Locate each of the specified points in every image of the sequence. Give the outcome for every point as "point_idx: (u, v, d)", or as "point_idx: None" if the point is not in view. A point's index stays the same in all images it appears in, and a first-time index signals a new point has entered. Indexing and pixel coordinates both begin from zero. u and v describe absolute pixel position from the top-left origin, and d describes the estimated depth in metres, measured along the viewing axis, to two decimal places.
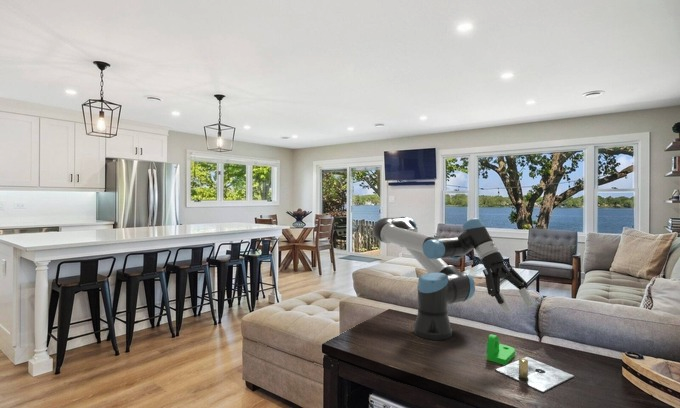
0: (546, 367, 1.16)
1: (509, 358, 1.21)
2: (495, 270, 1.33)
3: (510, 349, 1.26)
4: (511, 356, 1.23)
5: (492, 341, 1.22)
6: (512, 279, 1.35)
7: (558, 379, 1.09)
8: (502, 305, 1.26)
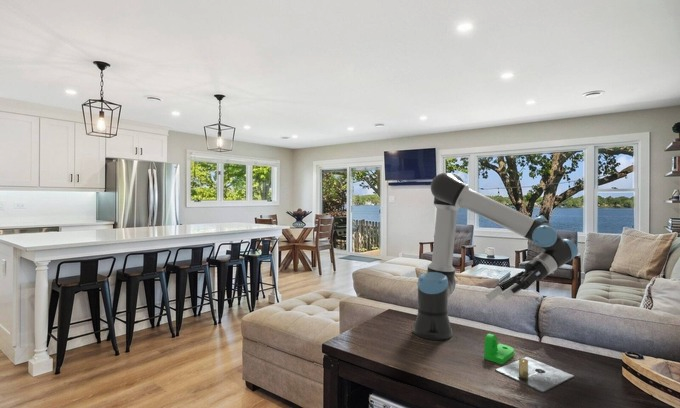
0: (546, 367, 1.16)
1: (507, 358, 1.22)
2: None
3: (509, 349, 1.26)
4: (509, 356, 1.23)
5: (489, 340, 1.22)
6: (513, 284, 1.37)
7: (558, 379, 1.09)
8: (509, 290, 1.25)
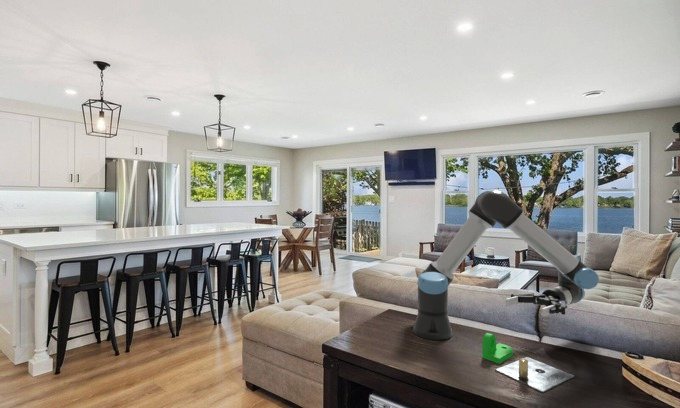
0: (546, 367, 1.16)
1: (505, 357, 1.22)
2: None
3: (508, 349, 1.27)
4: (507, 355, 1.23)
5: (487, 339, 1.23)
6: (529, 301, 1.39)
7: (558, 379, 1.09)
8: (548, 309, 1.26)
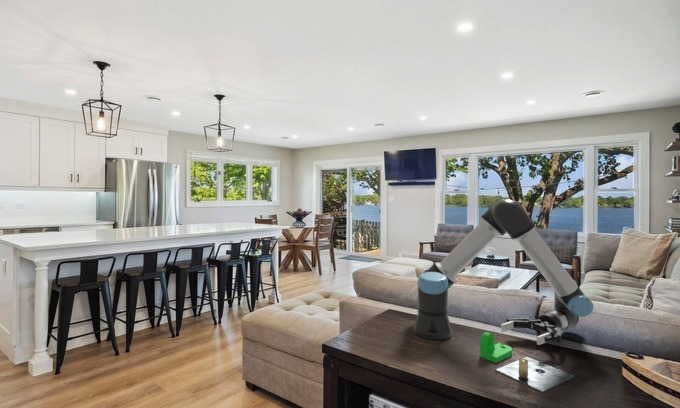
0: (546, 367, 1.16)
1: (502, 356, 1.23)
2: None
3: (507, 348, 1.27)
4: (506, 355, 1.24)
5: (485, 338, 1.24)
6: (525, 326, 1.38)
7: (558, 379, 1.09)
8: (543, 338, 1.25)
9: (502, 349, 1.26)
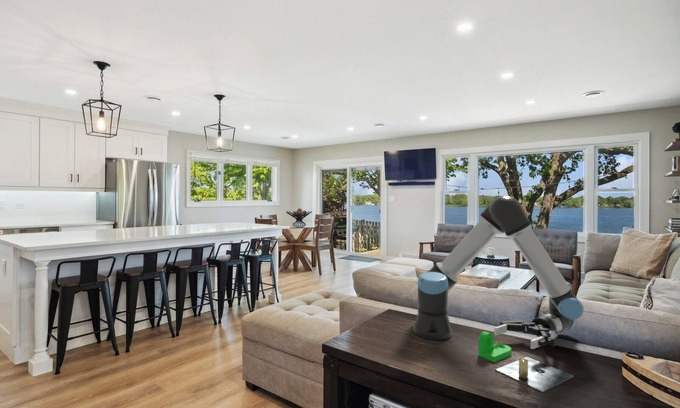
0: (546, 367, 1.16)
1: (501, 356, 1.23)
2: None
3: (506, 348, 1.27)
4: (504, 355, 1.24)
5: (483, 338, 1.24)
6: (519, 329, 1.35)
7: (558, 379, 1.09)
8: (537, 341, 1.22)
9: (501, 349, 1.27)
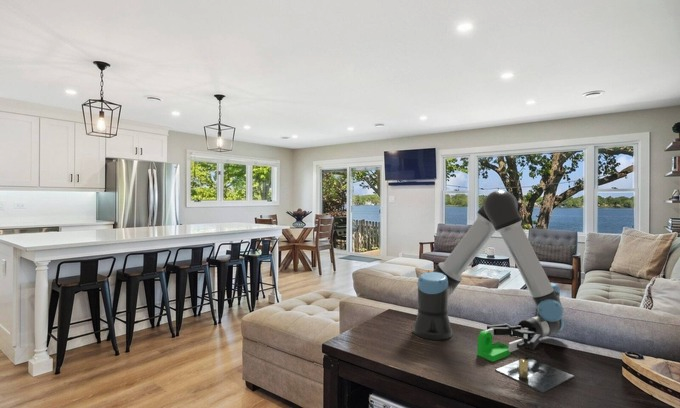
0: (546, 367, 1.16)
1: (499, 355, 1.23)
2: None
3: (505, 348, 1.27)
4: (503, 354, 1.24)
5: (482, 337, 1.25)
6: (505, 333, 1.31)
7: (558, 379, 1.09)
8: (515, 344, 1.19)
9: (500, 348, 1.27)
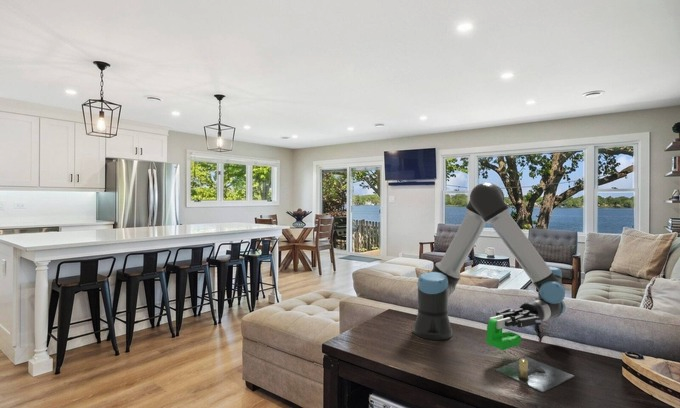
0: (546, 367, 1.16)
1: (510, 344, 1.18)
2: None
3: (516, 337, 1.22)
4: (513, 343, 1.19)
5: (492, 324, 1.20)
6: None
7: (558, 379, 1.09)
8: (503, 322, 1.21)
9: (510, 337, 1.22)
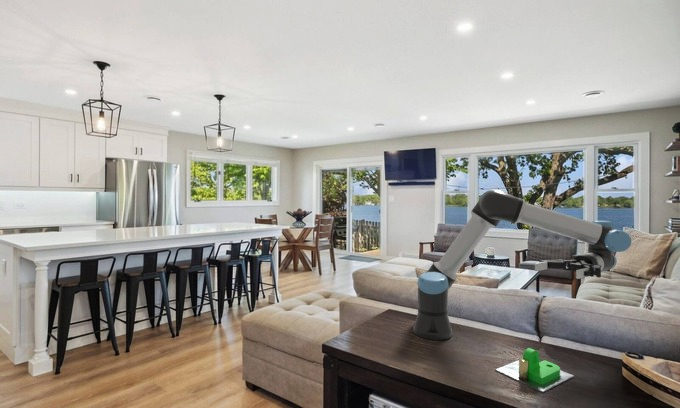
0: None
1: (549, 377, 1.08)
2: None
3: (554, 368, 1.12)
4: (553, 375, 1.09)
5: (528, 356, 1.09)
6: (559, 266, 1.32)
7: (558, 379, 1.09)
8: (582, 272, 1.18)
9: (548, 368, 1.11)
